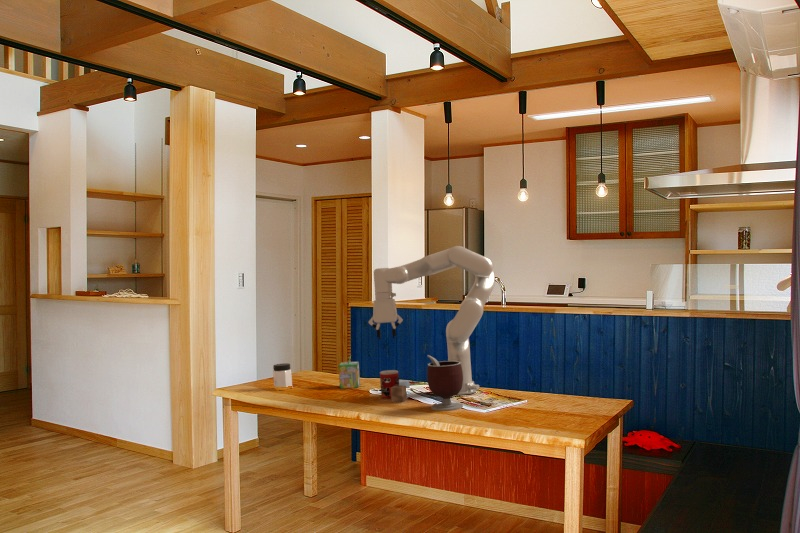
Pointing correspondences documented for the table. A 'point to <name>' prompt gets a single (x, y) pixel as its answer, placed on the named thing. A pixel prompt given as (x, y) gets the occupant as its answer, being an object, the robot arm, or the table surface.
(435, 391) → the mate gourd
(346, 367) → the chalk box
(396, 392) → the walnut block
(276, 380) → the jar
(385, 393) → the canned food
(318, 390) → the table surface
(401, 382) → the slate block
